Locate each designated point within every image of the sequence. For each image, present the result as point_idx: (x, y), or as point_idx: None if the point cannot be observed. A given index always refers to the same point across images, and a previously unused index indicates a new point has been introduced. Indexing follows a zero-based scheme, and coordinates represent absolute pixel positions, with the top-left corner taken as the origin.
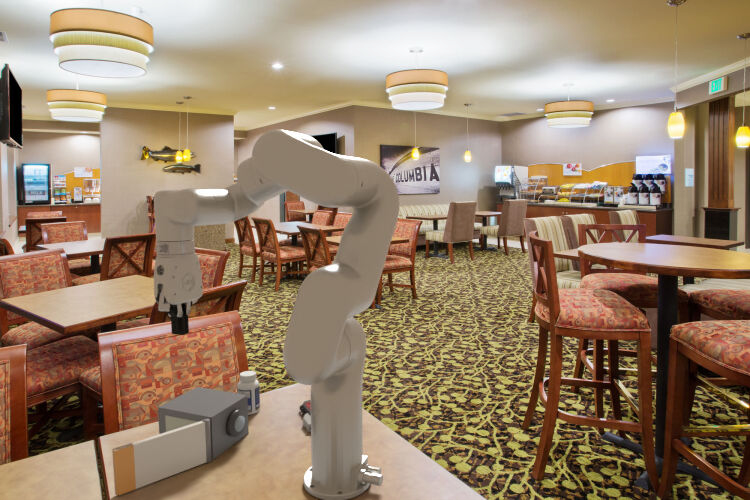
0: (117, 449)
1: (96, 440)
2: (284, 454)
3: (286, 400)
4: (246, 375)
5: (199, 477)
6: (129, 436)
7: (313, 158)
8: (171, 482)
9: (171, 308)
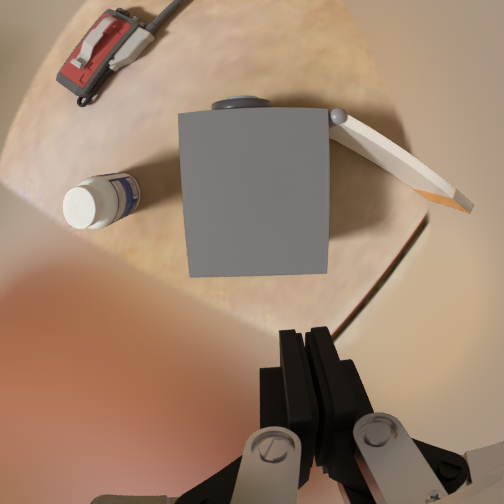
0: (469, 204)
1: None
2: (241, 26)
3: (62, 161)
4: (89, 200)
5: (358, 111)
6: (295, 321)
7: None
8: None
9: (464, 469)
